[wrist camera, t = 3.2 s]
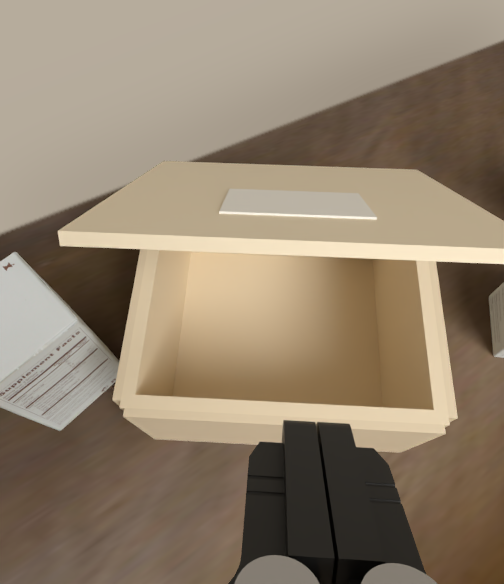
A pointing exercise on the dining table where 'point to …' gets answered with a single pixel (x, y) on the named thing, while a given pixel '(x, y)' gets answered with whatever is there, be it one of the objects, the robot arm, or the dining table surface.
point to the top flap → (291, 214)
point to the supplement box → (46, 351)
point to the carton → (285, 348)
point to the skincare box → (497, 320)
